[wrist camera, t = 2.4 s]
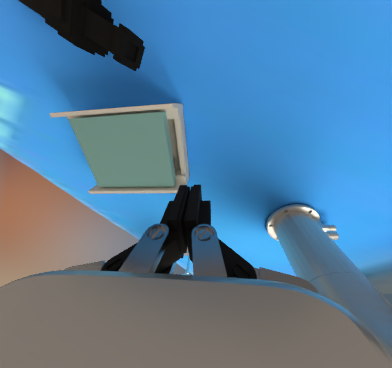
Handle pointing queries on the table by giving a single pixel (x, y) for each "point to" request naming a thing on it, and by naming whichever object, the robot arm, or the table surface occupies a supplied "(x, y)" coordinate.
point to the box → (176, 138)
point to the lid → (127, 149)
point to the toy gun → (90, 28)
